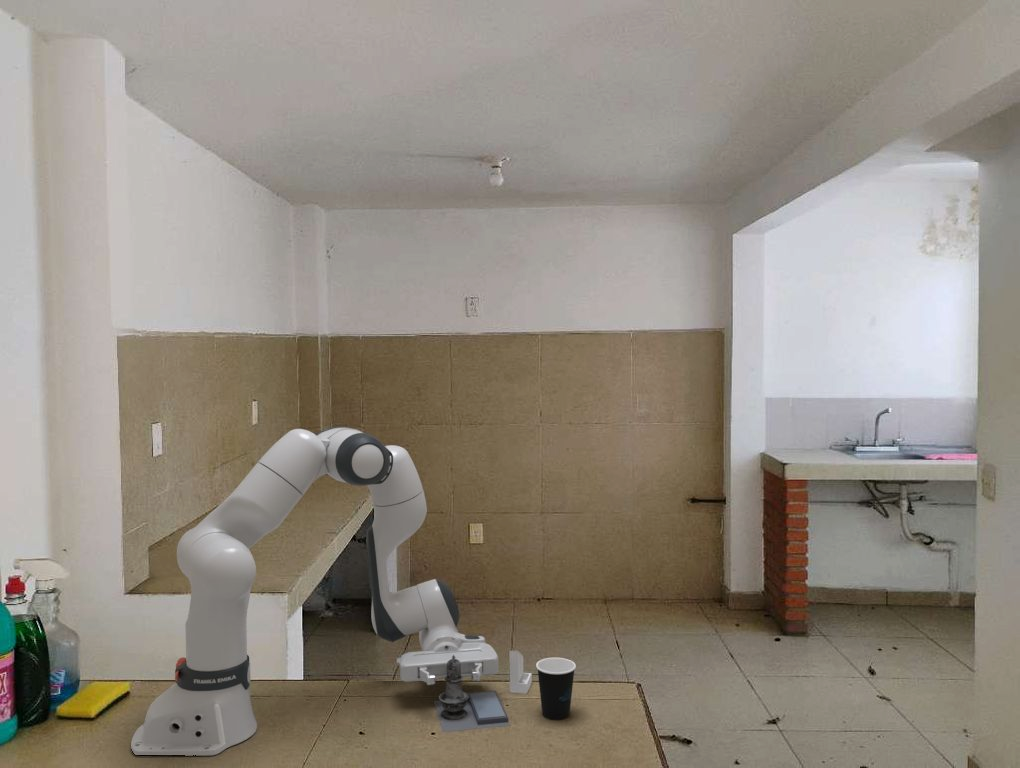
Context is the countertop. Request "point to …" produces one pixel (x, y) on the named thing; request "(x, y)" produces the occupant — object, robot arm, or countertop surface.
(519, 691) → the white angled block
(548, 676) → the dixie cup
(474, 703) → the phone
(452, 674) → the stone finial ornament
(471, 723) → the mat
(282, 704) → the countertop surface
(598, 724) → the countertop surface
